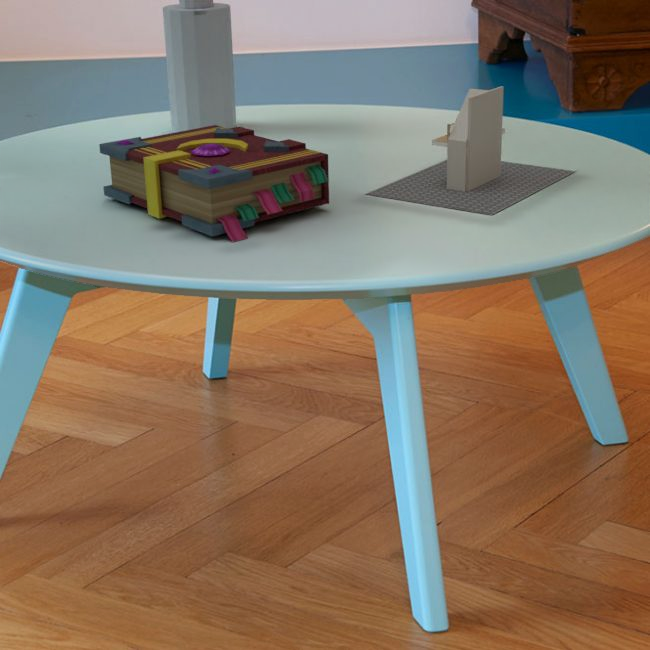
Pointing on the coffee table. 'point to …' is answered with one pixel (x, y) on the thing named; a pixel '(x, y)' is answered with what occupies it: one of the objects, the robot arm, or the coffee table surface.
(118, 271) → the coffee table surface
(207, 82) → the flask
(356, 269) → the coffee table surface
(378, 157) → the coffee table surface
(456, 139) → the architectural model
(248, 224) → the decorative book
